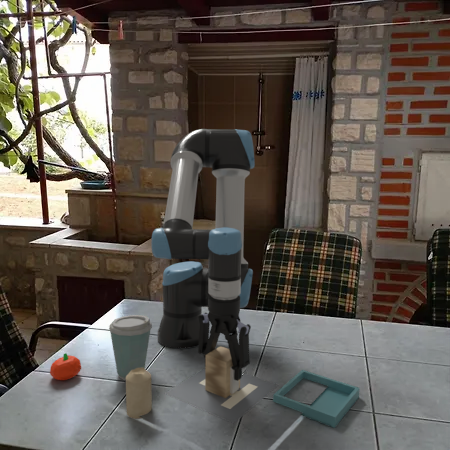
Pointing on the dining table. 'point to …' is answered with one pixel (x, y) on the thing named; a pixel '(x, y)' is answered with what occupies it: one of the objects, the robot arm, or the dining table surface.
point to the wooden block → (218, 372)
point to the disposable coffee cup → (130, 342)
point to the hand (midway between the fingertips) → (222, 386)
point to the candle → (138, 393)
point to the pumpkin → (65, 367)
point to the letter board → (219, 406)
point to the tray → (321, 399)
